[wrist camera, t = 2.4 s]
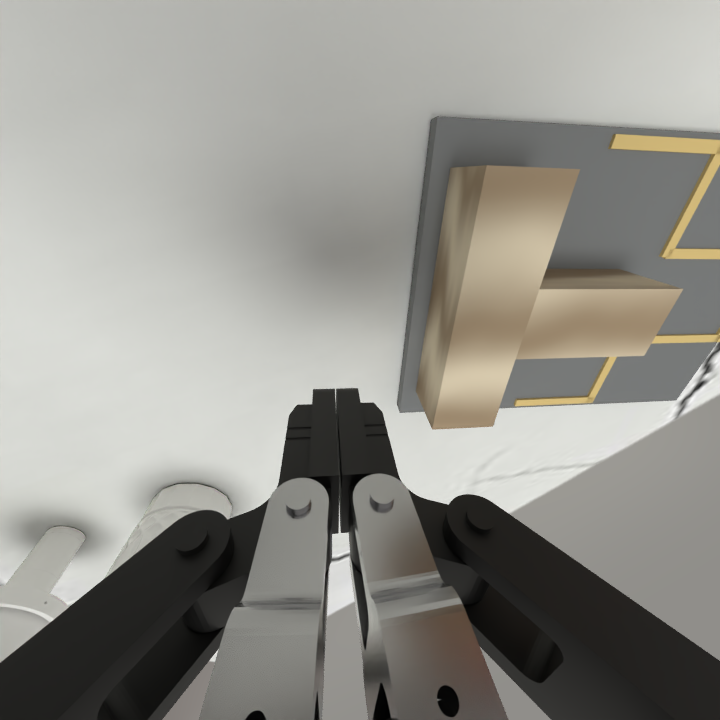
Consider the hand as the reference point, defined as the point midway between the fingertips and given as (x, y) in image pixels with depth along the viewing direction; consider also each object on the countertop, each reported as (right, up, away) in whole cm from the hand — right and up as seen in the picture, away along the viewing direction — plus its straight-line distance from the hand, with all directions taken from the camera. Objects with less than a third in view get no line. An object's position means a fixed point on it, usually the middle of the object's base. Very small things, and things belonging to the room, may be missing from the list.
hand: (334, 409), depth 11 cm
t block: (+11, +6, +9) cm, 15 cm away
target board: (+16, +6, +11) cm, 20 cm away
